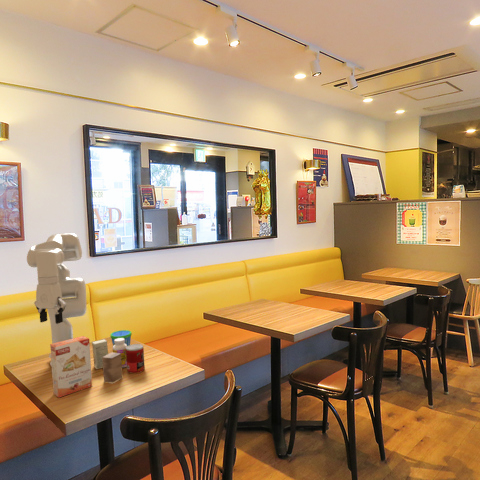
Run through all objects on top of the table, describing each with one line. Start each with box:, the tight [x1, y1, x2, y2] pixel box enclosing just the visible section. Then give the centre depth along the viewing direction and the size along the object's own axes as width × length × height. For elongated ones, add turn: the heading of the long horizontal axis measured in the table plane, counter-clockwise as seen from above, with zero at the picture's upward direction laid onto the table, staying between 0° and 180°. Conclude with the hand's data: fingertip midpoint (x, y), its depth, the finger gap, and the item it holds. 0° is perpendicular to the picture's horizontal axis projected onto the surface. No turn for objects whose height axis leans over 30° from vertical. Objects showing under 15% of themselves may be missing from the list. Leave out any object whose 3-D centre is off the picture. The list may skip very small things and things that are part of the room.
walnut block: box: [102, 351, 123, 384], centre depth 173 cm, size 5×6×11 cm
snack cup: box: [110, 329, 132, 347], centre depth 208 cm, size 16×10×10 cm
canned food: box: [126, 343, 146, 374], centre depth 183 cm, size 8×8×11 cm
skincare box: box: [91, 338, 109, 370], centre depth 189 cm, size 6×4×12 cm
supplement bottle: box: [112, 338, 127, 369], centre depth 188 cm, size 7×7×13 cm
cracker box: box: [49, 335, 93, 398], centre depth 164 cm, size 14×6×21 cm, turn 135°
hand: (51, 322), depth 166 cm, fingers open, 7 cm apart
